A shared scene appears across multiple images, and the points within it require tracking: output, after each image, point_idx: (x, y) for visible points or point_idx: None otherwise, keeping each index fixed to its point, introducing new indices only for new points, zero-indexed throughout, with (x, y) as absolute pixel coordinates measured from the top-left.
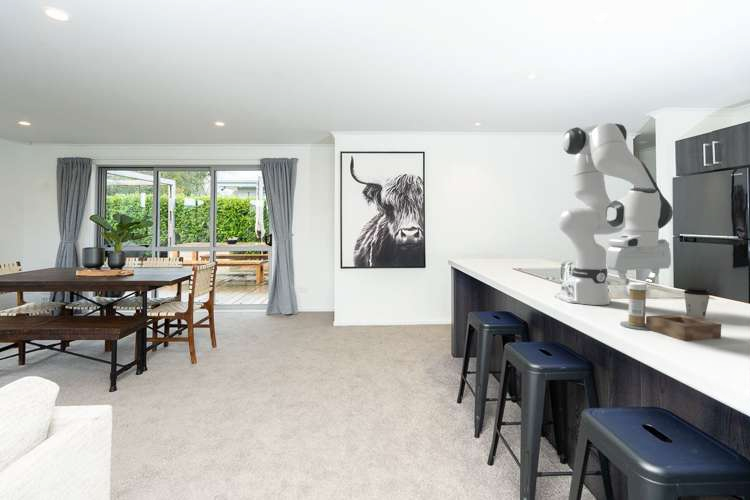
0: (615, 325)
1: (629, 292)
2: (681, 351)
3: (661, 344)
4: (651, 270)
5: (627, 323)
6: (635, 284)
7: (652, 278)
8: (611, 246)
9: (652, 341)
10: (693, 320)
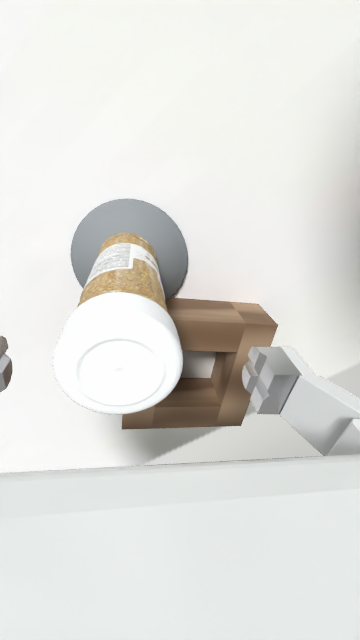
0: (52, 220)
1: (81, 301)
2: (41, 441)
3: (36, 405)
4: (346, 448)
5: (112, 231)
6: (65, 392)
7: (265, 408)
8: None
9: (33, 386)
10: (226, 385)
